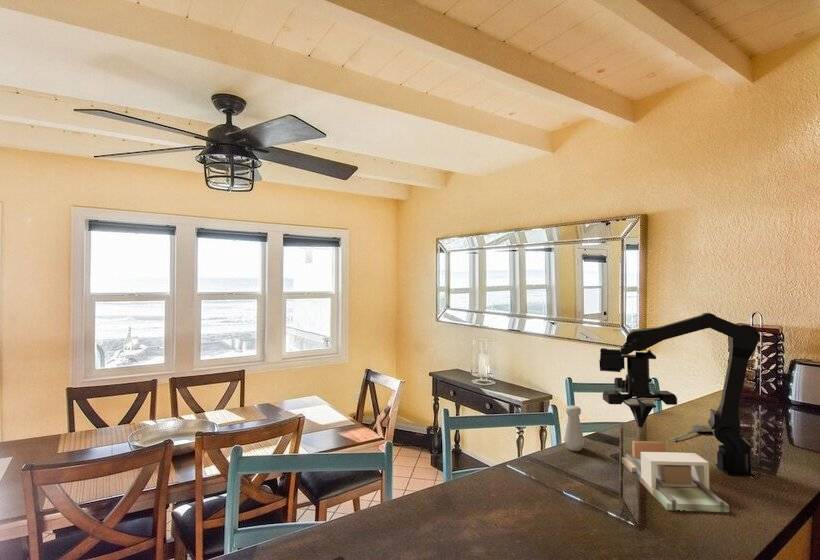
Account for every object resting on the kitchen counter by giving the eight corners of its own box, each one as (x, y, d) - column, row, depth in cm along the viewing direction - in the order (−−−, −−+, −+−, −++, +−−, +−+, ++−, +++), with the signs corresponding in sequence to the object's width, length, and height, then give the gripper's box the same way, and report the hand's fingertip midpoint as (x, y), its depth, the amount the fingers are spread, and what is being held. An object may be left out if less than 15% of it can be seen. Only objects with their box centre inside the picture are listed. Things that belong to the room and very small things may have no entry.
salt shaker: (585, 452, 131) (584, 409, 132) (565, 451, 133) (564, 408, 133) (582, 445, 137) (581, 404, 137) (563, 444, 138) (562, 403, 138)
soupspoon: (720, 435, 147) (699, 431, 153) (719, 425, 148) (698, 421, 153) (682, 445, 137) (661, 440, 143) (682, 434, 137) (661, 429, 143)
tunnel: (695, 478, 110) (694, 452, 110) (709, 489, 104) (708, 462, 104) (641, 477, 111) (640, 451, 111) (651, 487, 105) (651, 461, 105)
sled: (662, 458, 122) (662, 441, 122) (697, 487, 104) (696, 467, 104) (632, 458, 123) (632, 440, 123) (661, 486, 105) (661, 466, 105)
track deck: (670, 463, 122) (670, 455, 122) (729, 512, 96) (729, 501, 96) (621, 462, 124) (621, 454, 124) (666, 510, 97) (666, 499, 97)
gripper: (659, 368, 135) (660, 419, 134) (596, 368, 136) (597, 418, 136) (677, 375, 123) (679, 431, 123) (608, 375, 125) (610, 430, 125)
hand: (639, 427), depth 127 cm, fingers closed
